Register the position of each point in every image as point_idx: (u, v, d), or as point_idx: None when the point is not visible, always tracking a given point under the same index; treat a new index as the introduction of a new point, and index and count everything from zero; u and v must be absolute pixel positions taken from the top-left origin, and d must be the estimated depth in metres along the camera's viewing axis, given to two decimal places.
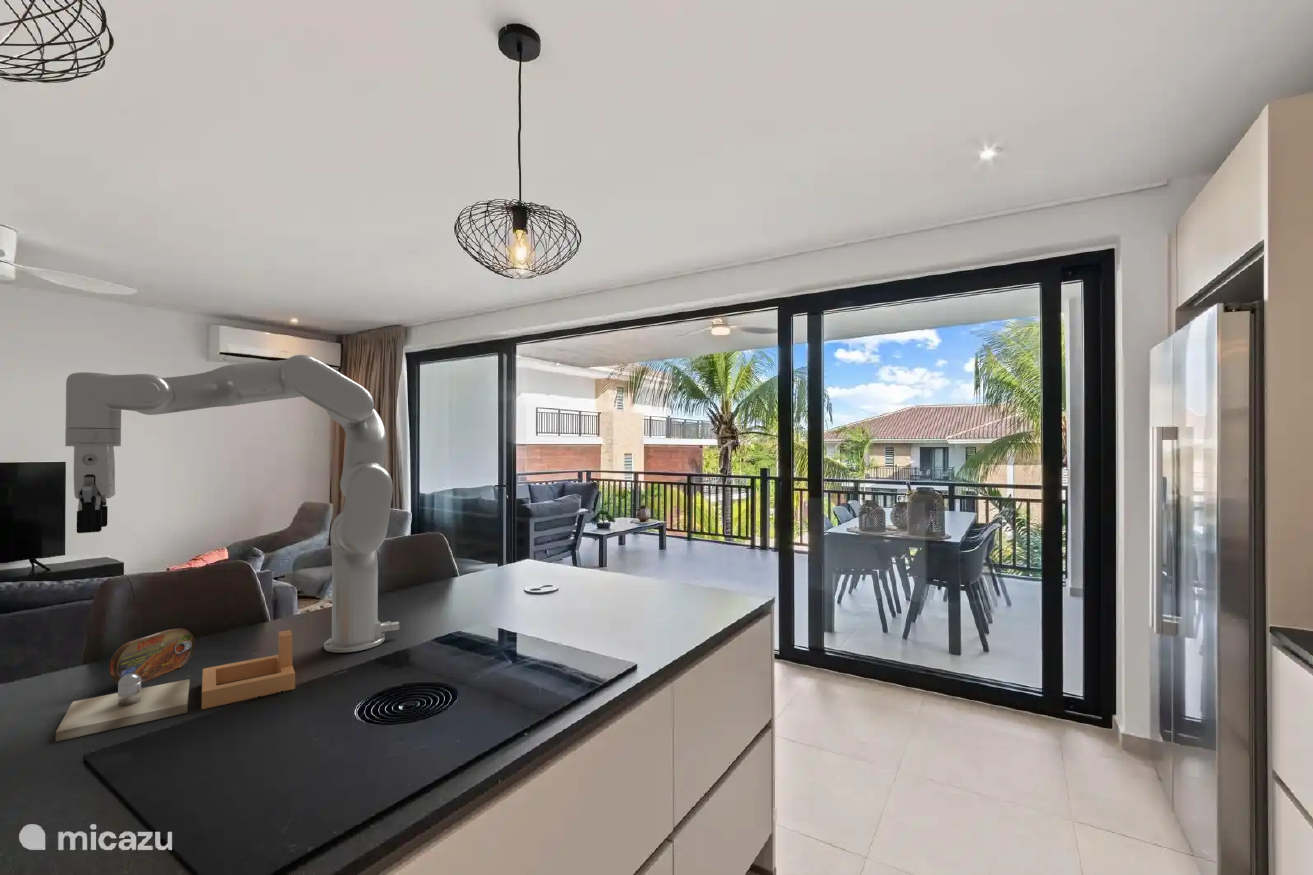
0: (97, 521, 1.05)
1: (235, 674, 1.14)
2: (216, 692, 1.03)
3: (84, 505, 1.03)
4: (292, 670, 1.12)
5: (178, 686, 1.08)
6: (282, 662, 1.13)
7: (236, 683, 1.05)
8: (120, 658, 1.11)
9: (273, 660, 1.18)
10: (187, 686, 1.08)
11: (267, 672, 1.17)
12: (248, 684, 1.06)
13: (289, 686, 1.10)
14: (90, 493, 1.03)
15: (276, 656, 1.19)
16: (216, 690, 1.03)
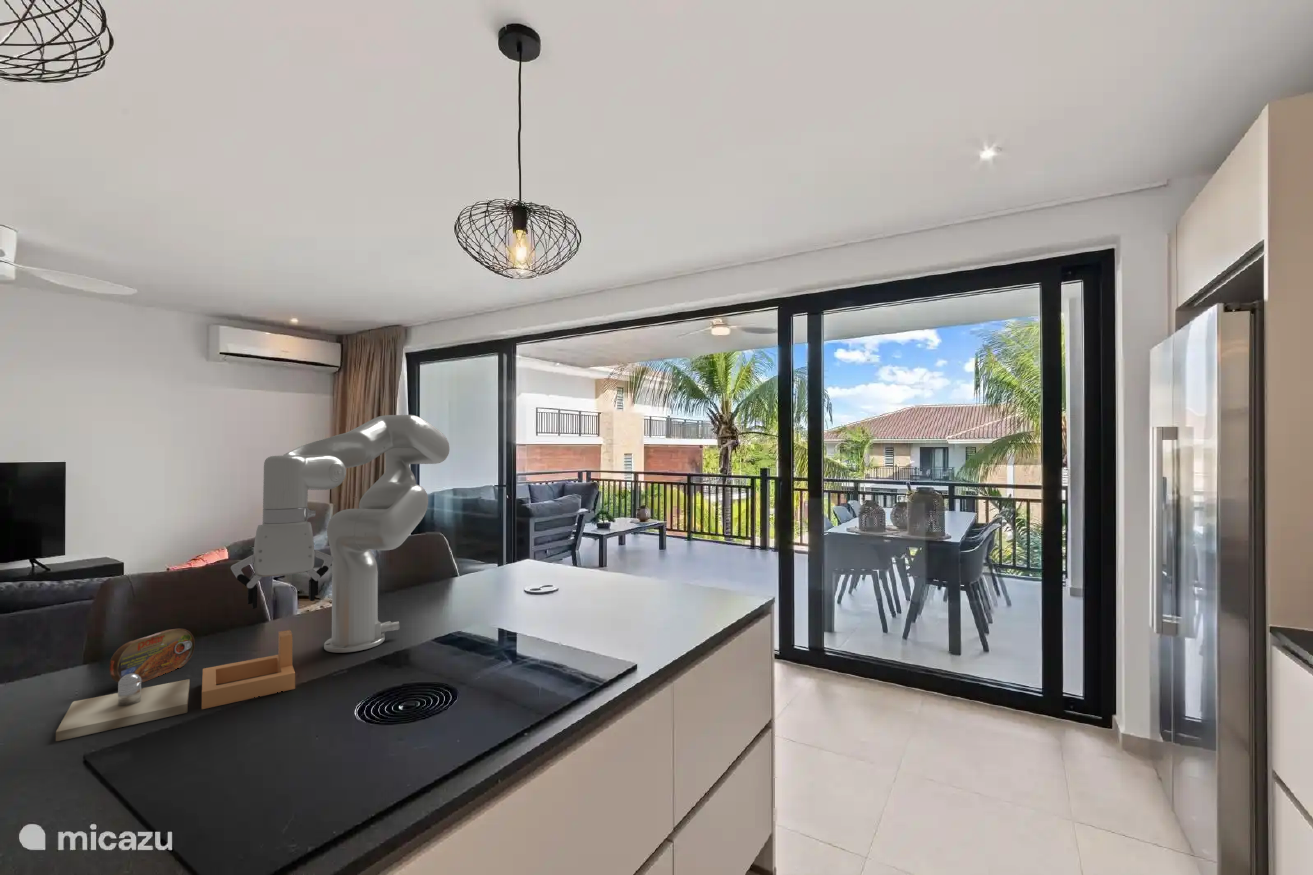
0: None
1: (235, 674, 1.14)
2: (216, 692, 1.03)
3: (323, 574, 1.19)
4: (292, 670, 1.12)
5: (178, 686, 1.08)
6: (282, 662, 1.13)
7: (236, 683, 1.05)
8: (120, 658, 1.11)
9: (273, 660, 1.18)
10: (187, 686, 1.08)
11: (267, 672, 1.17)
12: (248, 684, 1.06)
13: (289, 686, 1.10)
14: None
15: (276, 656, 1.19)
16: (216, 690, 1.03)
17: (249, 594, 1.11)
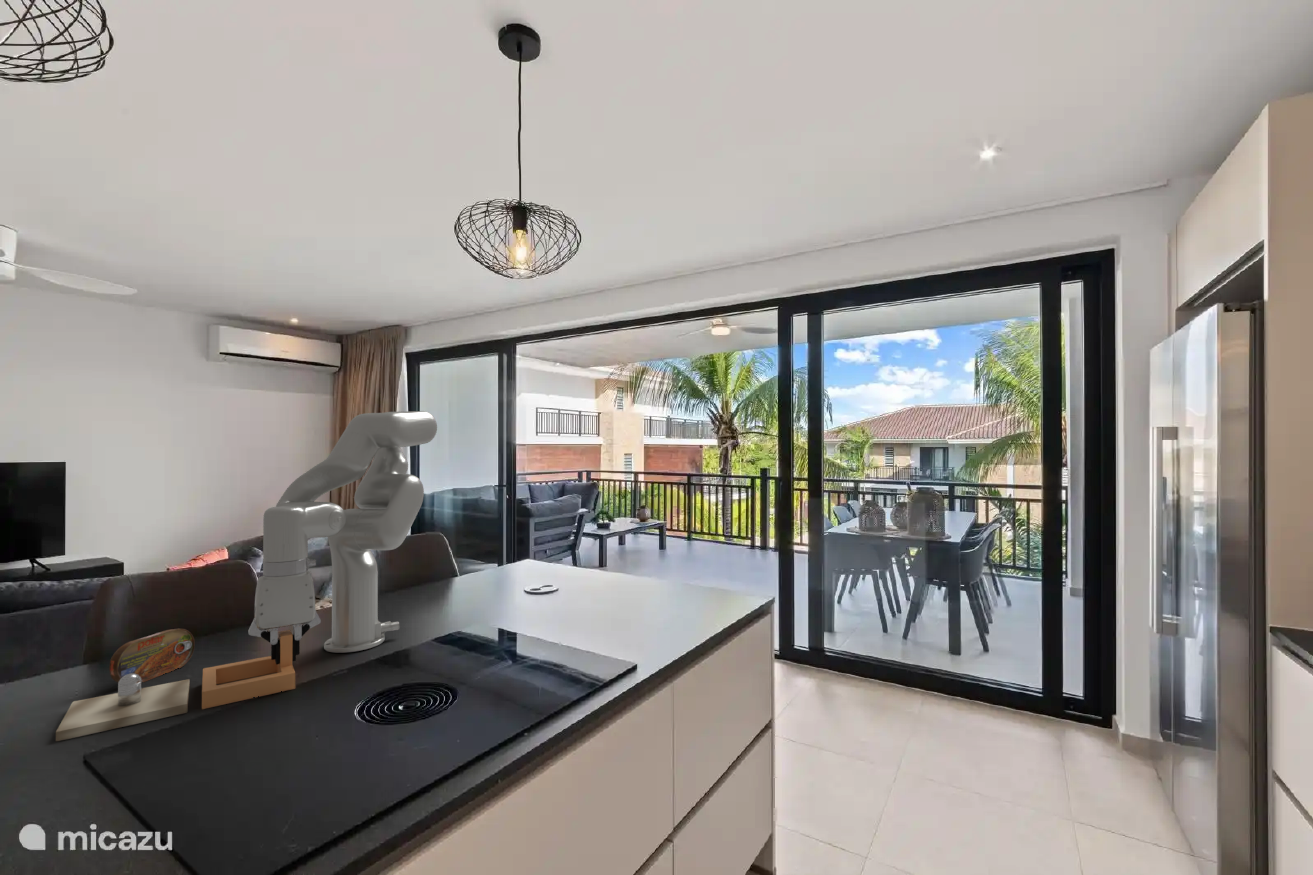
0: None
1: (235, 673, 1.14)
2: (216, 692, 1.03)
3: (305, 632, 1.17)
4: (292, 670, 1.12)
5: (178, 686, 1.08)
6: (282, 662, 1.13)
7: (236, 683, 1.05)
8: (120, 658, 1.11)
9: (273, 660, 1.18)
10: (187, 686, 1.08)
11: (267, 672, 1.17)
12: (248, 684, 1.06)
13: (289, 686, 1.10)
14: None
15: None
16: (216, 690, 1.03)
17: (273, 650, 1.13)
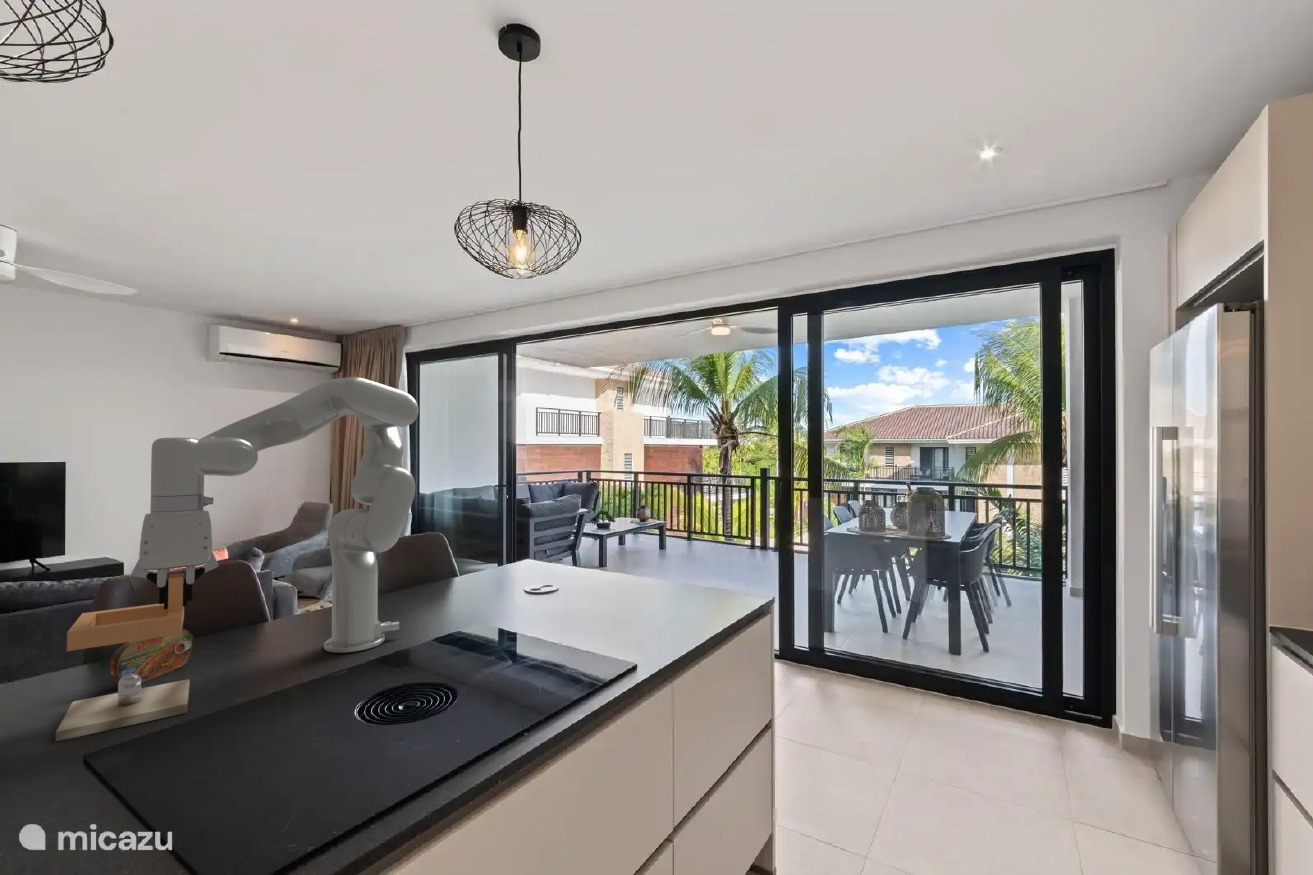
0: None
1: (120, 619, 1.04)
2: (85, 633, 0.93)
3: (199, 576, 1.07)
4: (179, 614, 1.01)
5: (178, 686, 1.08)
6: (170, 606, 1.03)
7: (110, 625, 0.95)
8: (120, 658, 1.11)
9: None
10: (187, 686, 1.08)
11: None
12: (124, 626, 0.96)
13: (174, 631, 0.99)
14: (212, 568, 1.09)
15: None
16: (85, 631, 0.93)
17: (160, 593, 1.03)
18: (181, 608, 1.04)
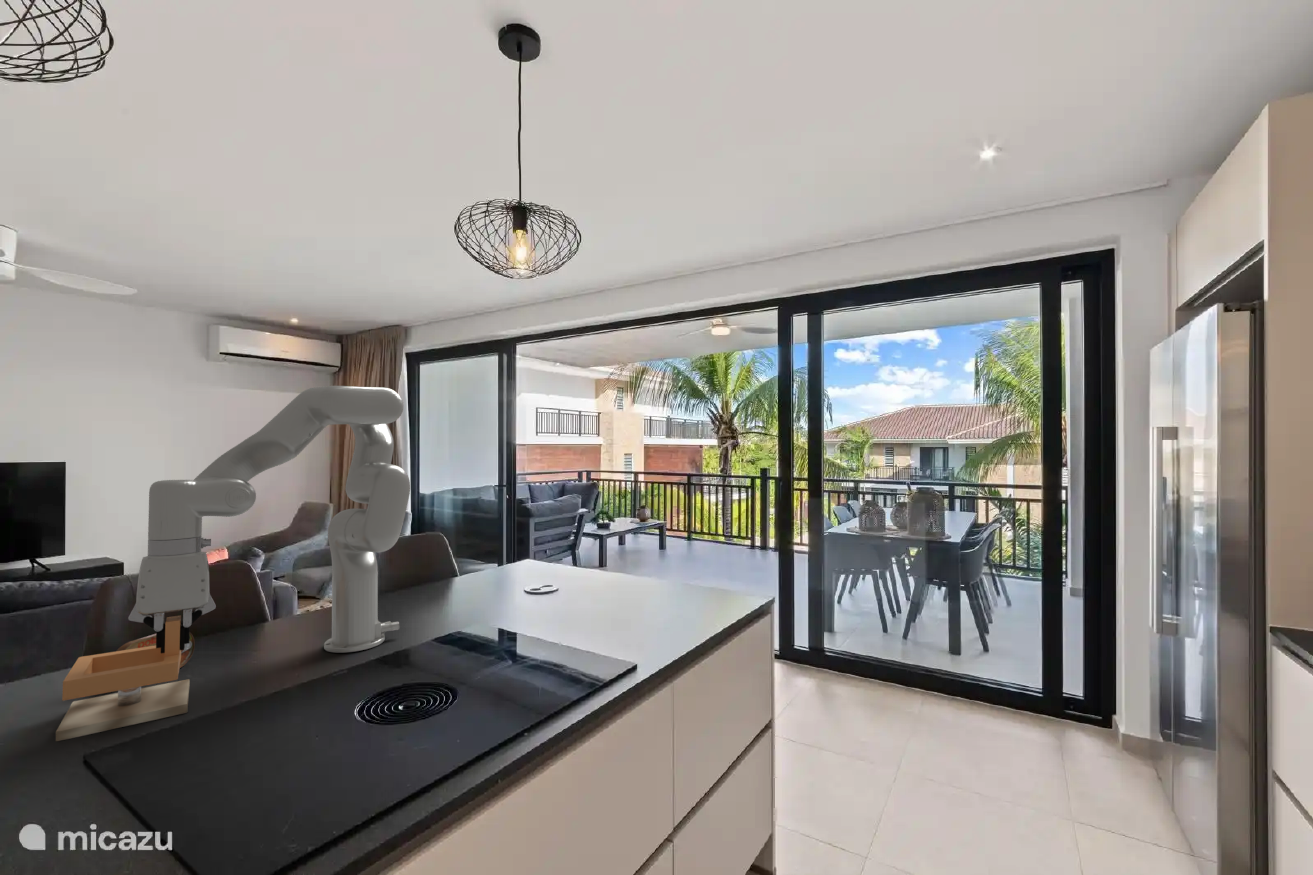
0: None
1: (116, 663, 1.04)
2: (81, 682, 0.92)
3: None
4: (176, 659, 1.01)
5: (178, 686, 1.08)
6: (167, 650, 1.03)
7: (106, 673, 0.95)
8: None
9: None
10: (187, 686, 1.08)
11: (155, 662, 1.07)
12: (120, 674, 0.95)
13: (170, 677, 0.99)
14: None
15: None
16: (81, 680, 0.92)
17: (157, 637, 1.03)
18: (178, 652, 1.03)
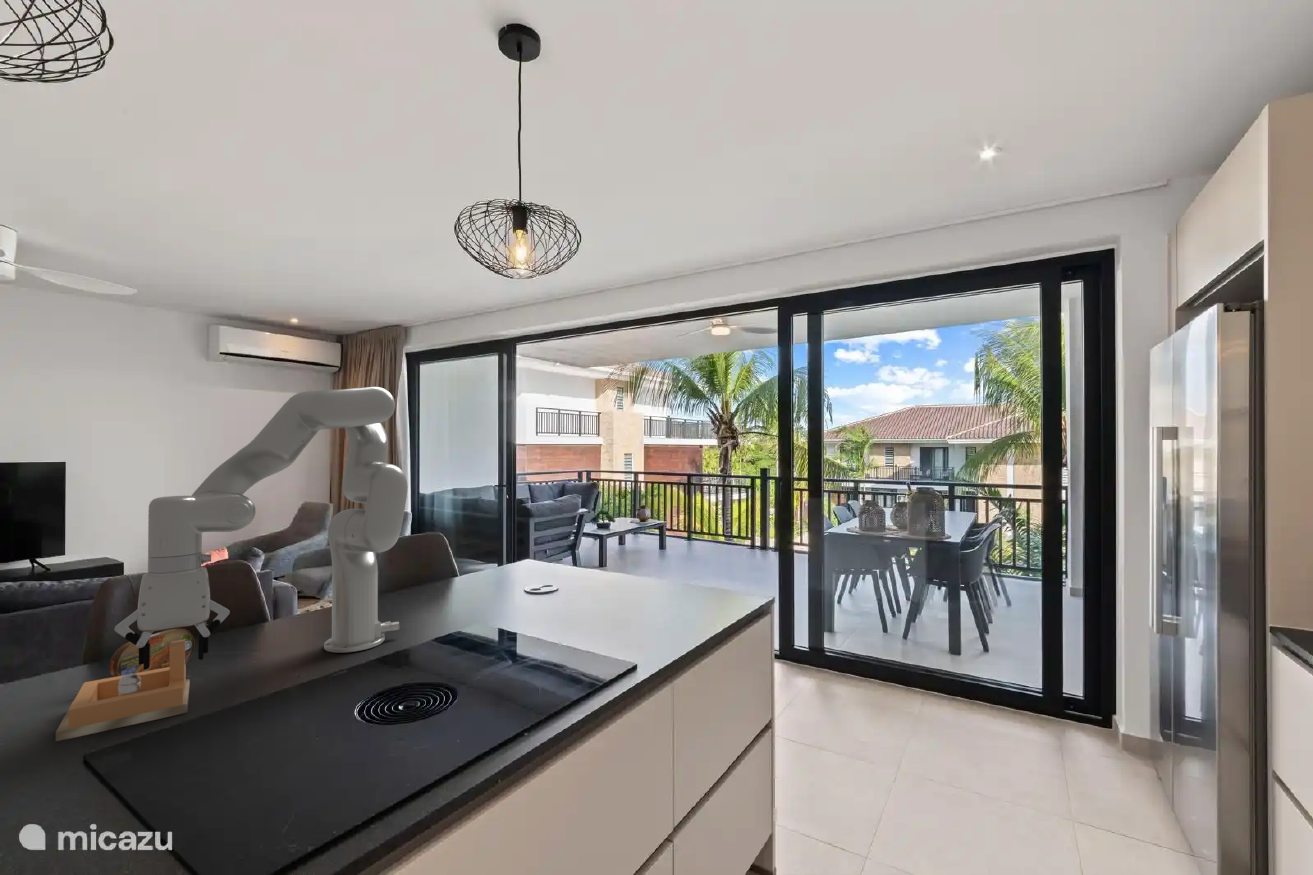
0: None
1: None
2: (86, 710, 0.93)
3: (214, 628, 1.08)
4: (181, 684, 1.01)
5: None
6: (172, 675, 1.03)
7: (112, 700, 0.95)
8: (120, 658, 1.11)
9: (167, 672, 1.08)
10: (187, 686, 1.08)
11: (160, 685, 1.07)
12: (125, 701, 0.96)
13: (175, 702, 0.99)
14: None
15: None
16: (86, 708, 0.93)
17: (140, 654, 1.01)
18: (182, 676, 1.04)
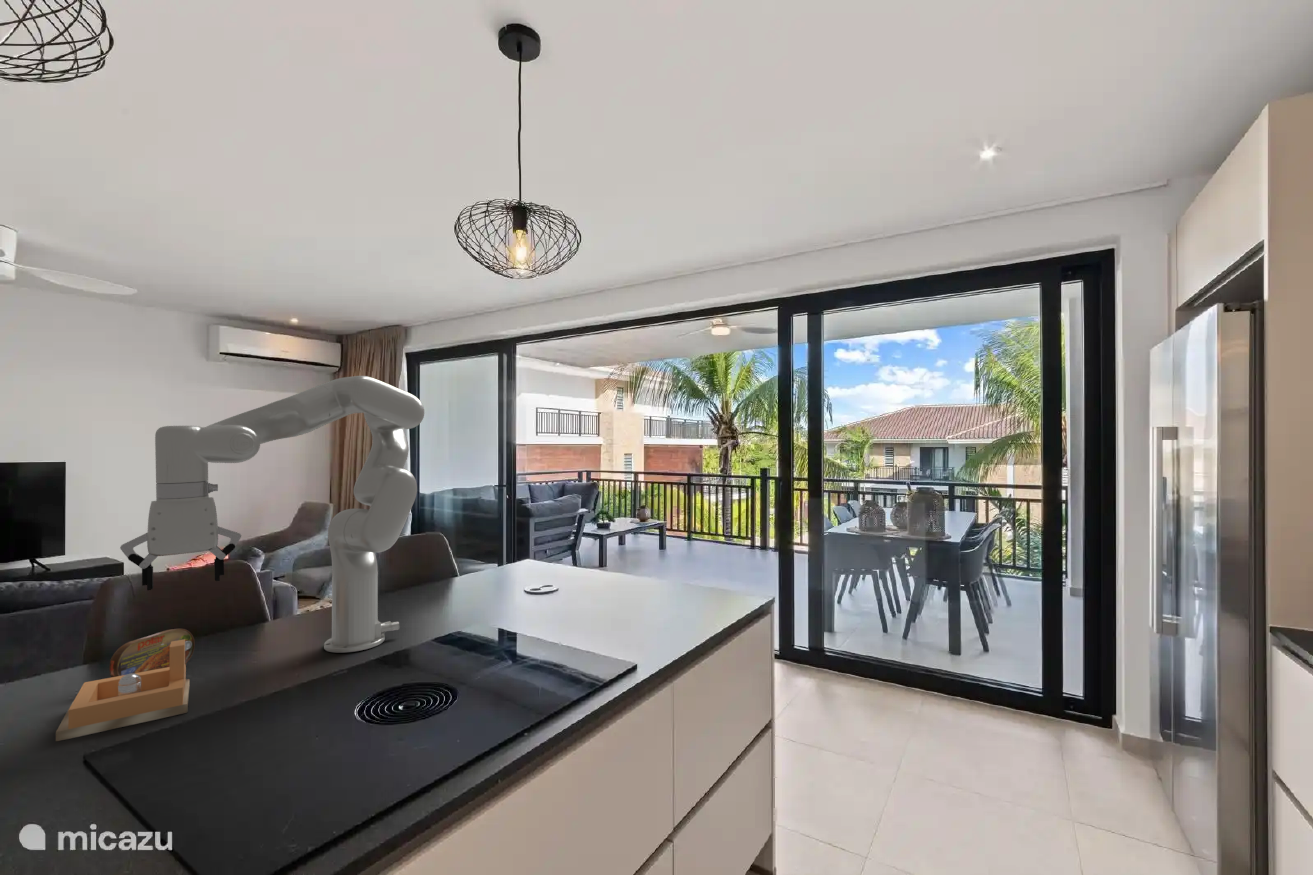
0: None
1: None
2: (86, 710, 0.93)
3: (229, 552, 1.11)
4: (181, 684, 1.01)
5: None
6: (172, 675, 1.03)
7: (112, 700, 0.95)
8: (120, 658, 1.11)
9: (167, 672, 1.08)
10: (187, 686, 1.08)
11: (160, 685, 1.07)
12: (125, 701, 0.96)
13: (175, 702, 0.99)
14: (239, 539, 1.13)
15: None
16: (86, 708, 0.93)
17: (143, 575, 1.03)
18: (182, 676, 1.04)
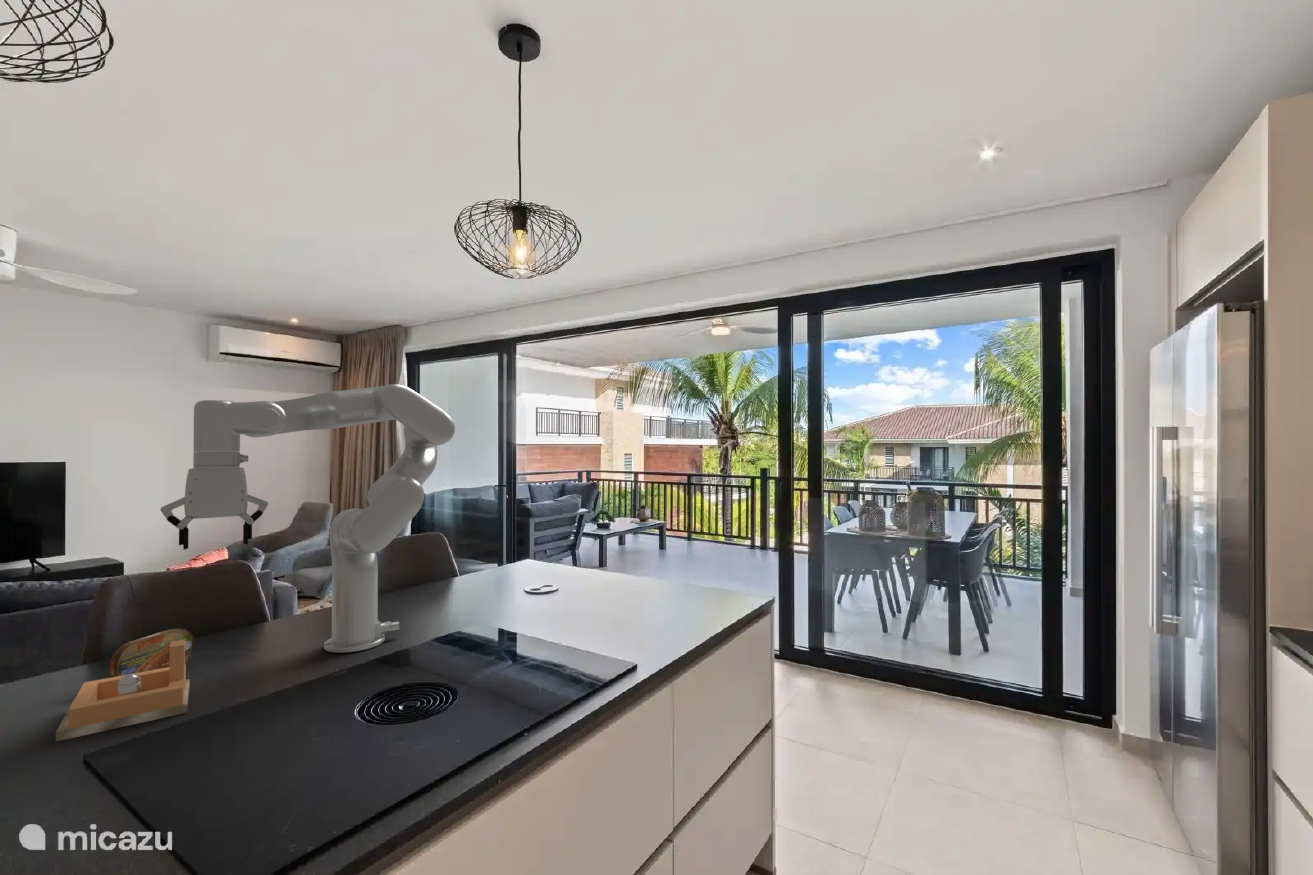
0: None
1: None
2: (86, 710, 0.93)
3: (257, 518, 1.21)
4: (181, 684, 1.01)
5: None
6: (172, 675, 1.03)
7: (112, 700, 0.95)
8: (120, 658, 1.11)
9: (167, 672, 1.08)
10: (187, 686, 1.08)
11: (160, 685, 1.07)
12: (125, 701, 0.96)
13: (175, 702, 0.99)
14: (265, 507, 1.22)
15: None
16: (86, 708, 0.93)
17: (180, 535, 1.13)
18: (182, 676, 1.04)
